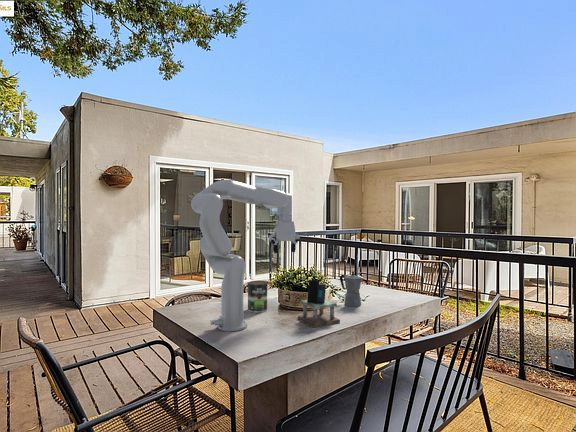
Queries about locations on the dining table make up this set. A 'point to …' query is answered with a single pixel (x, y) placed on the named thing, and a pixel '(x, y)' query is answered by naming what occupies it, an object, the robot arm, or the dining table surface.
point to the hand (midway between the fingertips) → (284, 252)
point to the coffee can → (257, 296)
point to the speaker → (316, 292)
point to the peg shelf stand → (318, 314)
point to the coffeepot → (352, 289)
